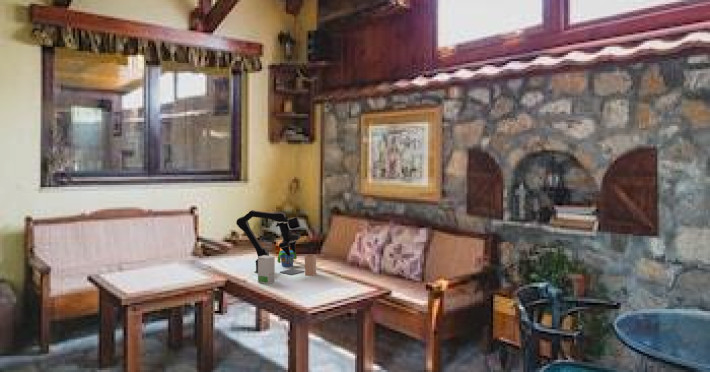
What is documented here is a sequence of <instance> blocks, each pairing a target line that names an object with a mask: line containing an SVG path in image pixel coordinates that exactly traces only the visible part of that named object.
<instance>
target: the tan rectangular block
mask: <svg viewBox="0 0 710 372" xmlns="http://www.w3.org/2000/svg"><path fill="white" fill-rule="evenodd" d="M304 275H305V276H309V277H311V276H312V277H313V276H315V275H317V255H316V254H307V255H305V256H304Z"/></svg>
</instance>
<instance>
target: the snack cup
mask: <svg viewBox="0 0 710 372" xmlns="http://www.w3.org/2000/svg"><path fill="white" fill-rule="evenodd" d="M289 250H290V256H288V255H287V254H286V253H285V252H284V251H283V250H282V249H281V250H280V251H279V252H278V253H279V254H277V255H278V256H277V263H279V264H280V263H281V266H282V267H284V268H289V267H293V266H294V261H295V260H297V253H294V252H293V251H292V249H289Z"/></svg>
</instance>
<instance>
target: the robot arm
mask: <svg viewBox="0 0 710 372" xmlns="http://www.w3.org/2000/svg"><path fill="white" fill-rule="evenodd" d="M252 218H258V219H259V218H260V219H265V220H266V219H268V220H273V221H275V222H276V225H275V227H279V231H280V237H281V238H282V240H281V242H280V243H278V247H279V248H280V249H281V251H282V250H283V251H284V252H285V253H286V254H287V255H288V256H290V250H292V251H293V252H294V253H296V251H297V250H296V248H297V247H296V244H297V242H298V241H299V240H301V236H302V235H301V233H300V231H296V232H292V231H291V230H294V229H299V228H301V222H300V220H299V218H298V216H296V217H292V218H290V217H288V216H286V213H285V212H283V211H279V212H269V211H268V212H266V211H259V210H258V211H257V210H254V209H252V210H249V212H248V213H246V214H245V215H244V216H241V217H238V218H237V220H236V221H235V222H236V223H235V224H236V226H237V227H238V228H239V229H240V230H242V232H244V233H245V235H246V237H247V238H248V240H249V242H250V243H251V245H252V246H253V248H254V249H255V251H256V255H257V259H255V271H254V273H255V274H256V273H257V274H258V257H259V256H263V255H267V256H270V251H269V250H268V248H267V246H262V244H261V243H260V241H259V240H258V238H257V236H256V235H255V233H254V232H253V230H252V228H251V226H250V223H249V220H251V219H252ZM290 229H291V230H290ZM296 254H297V253H296Z"/></svg>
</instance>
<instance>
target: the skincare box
mask: <svg viewBox="0 0 710 372" xmlns="http://www.w3.org/2000/svg"><path fill="white" fill-rule="evenodd" d="M275 258H276V257H275V256H271V255H269V256H267V255H263V256H259V257H258V256H257V259H258V273H257V283H260V284H267V285H269V284H272V283H275V281H276V280H275V279H276V278H275V275H276V274H275V270H276V269H275V266H276V264H275V262H276V261H275Z"/></svg>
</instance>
